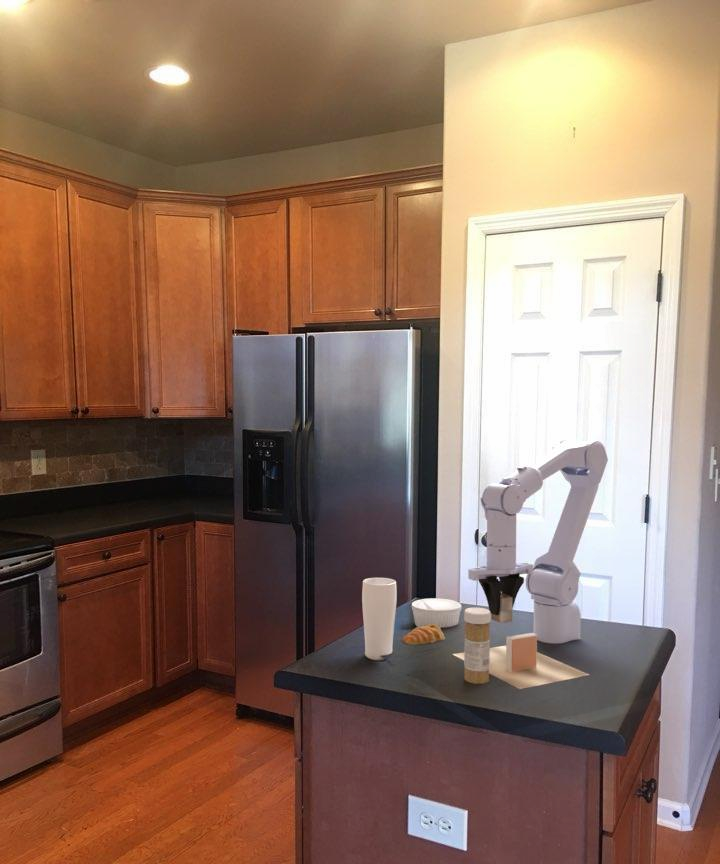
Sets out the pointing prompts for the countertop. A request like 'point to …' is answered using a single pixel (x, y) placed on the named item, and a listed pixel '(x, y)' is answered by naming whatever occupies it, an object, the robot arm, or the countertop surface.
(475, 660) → the sprinkles bottle
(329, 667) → the countertop surface
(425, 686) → the countertop surface
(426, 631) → the pastry
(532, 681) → the board
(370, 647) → the drinking glass
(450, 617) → the ramekin
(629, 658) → the countertop surface
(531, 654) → the tile
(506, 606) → the tan wooden block
